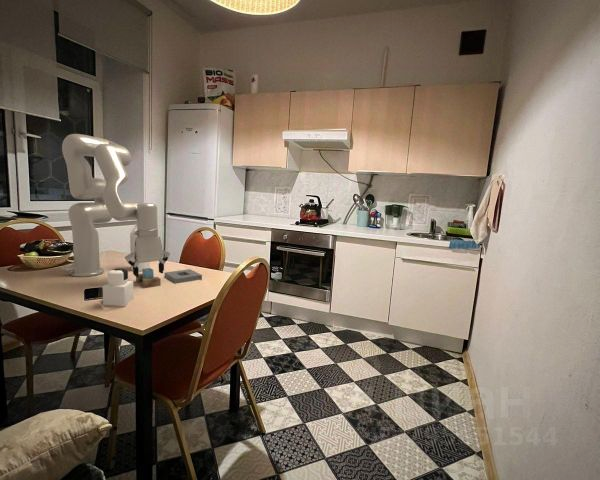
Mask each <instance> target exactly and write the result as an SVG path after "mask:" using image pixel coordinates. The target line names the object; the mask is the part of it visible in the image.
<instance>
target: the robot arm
mask: <svg viewBox="0 0 600 480" xmlns="http://www.w3.org/2000/svg"><path fill="white" fill-rule="evenodd" d="M61 150H62V155H63V158H64V160H65V165H66V169H67V176H68V177H67V178H68V184H69V192H70V194H71V196H72V197H73V198H74V199H76V200H94V201H93V202H76V203H74V204H72V205H71V206H70V207H69V208H68V212H67V213H68V219H69V223H70V225H71V232H72V233H71V235H72V248H73V249H72V250H73V251H72V252H73V263H72V264H71V265H69V266H66V265H65V266H60V271H61V272H69V274H70V276H72V277H77V278H78V277H84V278H85V277H94V276H99V275H102V274H104V271H105V270H104V268H101V264H100V239H99V232H98V230H97V229H96V227H95V226H94V225H97V224H105V223H109V222H111V220H112V219H114V220H116V221H117V222H118V221H119V222H123V221H124V222H125V221H127V222H128V221H136V220H137V231H134V232H133V234H134V235H137V236H138V237H136V239H135V246H134V252H133V253H131V252H130V253H129V254H127V255H125V256H124V259H125V261H126V262H127V264H128V265H130V266H131V265H132V266H133V271H132V275H133V276H134V277H135V278H136V277H138V276H139V274H140V273H139V272H140V271H139V270H138V267H137V266H138V264H139V263H143V262H149V263H151V262H157V261H158V273H160V274H164V271H165V264H166V262H167V261H168V260H169V257H170V255H171V252H169V251H167V250H164V249H163V244H162V239H161V236H159V231H158V230H159V228H158V226H159V225H158V206H157V204H155V203H152V202H141V201H121V198H120V197H119V196H120V195H119V193H118V187H120V186H122V185H124V184H125V183H127V181H128V180H129V174H128V172H127V170H126V168H125V167H127V166H129V165H130V164H131V162H132V155H131V153H130V151H129V150H128V149H127V147H124V146H123V145H120V144H118V143H116V142H114V141H111V140H108V139H105V138H101V137H98V136H97V137H96V136H93V135H92V136H91V135H87V134H83V133H82V134H80V133H71V134H68V135H66V137H65V138H64V139H63V141H62V145H61ZM85 157H93V158H95V161H96V162H97V165H98V167H99V169H100V171H101V173H102V176H103V177H104V179H102V178H98V177H93V174H92V167H91V165H90V162H89V161H88V160H87V159H86V158H85ZM133 256H134V259H135V261H134V262H132V261H131V258H132V257H133Z"/></svg>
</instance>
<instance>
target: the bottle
mask: <svg viewBox="0 0 600 480" xmlns="http://www.w3.org/2000/svg"><path fill="white" fill-rule="evenodd" d="M135 223H136V224H135V225H134V226H133V229H132V230H131V232H130V234H129V235H130V236H129V240H130V244H129V246H130V254H131V253H133V252H134V246H135V239H136V237H138V236H137V235H134V234H133V232H134V231H137V220H135ZM130 260H131V261H132V262H134V261H135V259H134V256H133V257H132V258H130ZM137 267H138V270H139V272H142V269H145V268H150V262H143V263H139V264H138V266H137ZM130 270H131V271H132V272H133V266H132V265H130Z"/></svg>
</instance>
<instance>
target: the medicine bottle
mask: <svg viewBox="0 0 600 480" xmlns="http://www.w3.org/2000/svg"><path fill="white" fill-rule="evenodd" d="M101 290H102V305H103V306H116V307H117V308H119V307H123V308H124V307H126V306H127V305H128V304H129V303H130V302H132V300H134V299H135V297H134V281H133V280H129V270H128V269H125V268H123V267H122V268H117V267H116V268H112V269H110V270H108V271H107V283H106V284H104V285H102V288H101Z"/></svg>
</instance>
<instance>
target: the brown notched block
mask: <svg viewBox="0 0 600 480" xmlns="http://www.w3.org/2000/svg"><path fill="white" fill-rule="evenodd" d="M135 282H136V283H138V284H139V285H140V286H142V287H143V288H144V289H147V288H148V289H149V288H154V287H160V286H161V278H160V277H159V276H153V278H145V279H143V273H139V276H138V277H136V276H135Z"/></svg>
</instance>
